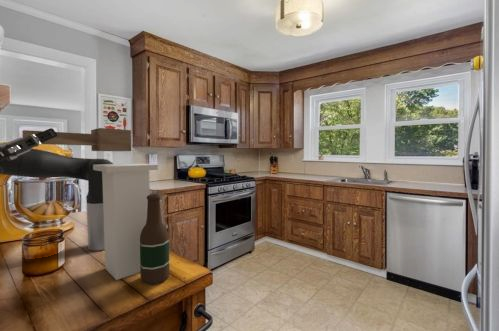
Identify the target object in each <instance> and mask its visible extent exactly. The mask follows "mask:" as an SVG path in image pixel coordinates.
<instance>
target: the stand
mask: <svg viewBox="0 0 499 331" xmlns="http://www.w3.org/2000/svg"><path fill="white" fill-rule="evenodd" d="M158 167H159V165H158V164H154V163H153V164H152V163H151V164H150V163H141V162H139V163H113V164H104V165H93V170H97V171H102V181H103V213H104V244H105V250H104V266H105V268H104V269H105V270H106V271H107V272H108V273H109V274H110V275H111V276H112V277H113V278H114V279H115V280H116V281H117V280H120V279H124V278H126V277H131V276H133V275H136V274H138V273H140V234H141V231H142V229H143V227H144V226H145V224H146V220H147V205H148V200H147V199H146V198H147V195H150V194H151V192H150V171H156V170H157V171H158V170H159V168H158Z"/></svg>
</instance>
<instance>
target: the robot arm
mask: <svg viewBox="0 0 499 331" xmlns="http://www.w3.org/2000/svg"><path fill="white" fill-rule="evenodd" d="M42 131H43V132H40V133H38V134H34V135H33V134H32V135H30V136H28V137H27V138H23V137H18V138H16V139H12V140H11V141H8V142H7V141H6V142H2V143H0V175H4V176H5V175H6V176H13V177H16V176H17V177H24V178H37V179H38V178H39V179H40V178H43V179H45V178H51V179H52V178H72V179H76V180H83V181H88V182H87V184H88V185H87V186H88V187H87V188H88V191H87V195H86V197H85V198H86V218H87V219H86V222H87V224H86V226H87V250H88V251H93V252H95V251H105V244H104V213H103V181H102V171H97V170H93V165H104V164H114V163H113V162H112V161H110V160H109V159H106V158H105V159H104V158H86V157H85V158H83V157H73V156H66V155H63V154H59V153H55V152H53V151H47V150H43V149H37V148H35V147H39V146H40V145H42V144H41V143H42V142H45V141H47V140H49V139H52V138H54V137H56V136H57V134H56V132H57V131H55V129H53V128H52V127H51V128H47V129H45V130H42ZM25 140H29V141H30V143H31V144H27V143H26V142H25Z"/></svg>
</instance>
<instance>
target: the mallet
mask: <svg viewBox="0 0 499 331" xmlns="http://www.w3.org/2000/svg"><path fill="white" fill-rule="evenodd" d="M43 131H44V130H29V129H28V130H27V129H23V130H22V138H27V137H28V136H30V135H32V134H33V135H34V134H38V133H40V132H43ZM55 132H56V134H57V136H56V137H54V138H52V139H49V140H47V141H45V142H42V143H41V144H40V145H56V146H57V145H58V146H59V145H61V146H63V145H64V146H91V148H90V149H91V152H132V131H131V129H120V128H119V129H118V128H105V127H104V128H103V127H98V128H94V129H91V130H90V133H83V132H82V133H80V132H64V131H61V132H60V131H55ZM25 142H26V143H27V144H31V143H30V141H29V140H25Z"/></svg>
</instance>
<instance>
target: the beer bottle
mask: <svg viewBox="0 0 499 331" xmlns="http://www.w3.org/2000/svg"><path fill="white" fill-rule="evenodd" d="M161 198H162V197H161V195H160V194H159V193H150V195H147V198H146V199H147V200H148V205H147V220H146V224H145V226H144V227H143V229H142V231H141V234H140V272H139V273H140V279H141V282H142V284H143V285H147V286H149V285H150V286H155V285H158V284H162V283H164V282H166V280H168V279H169V277H170V237H169V231H168V230H167V227H166V226H165V225H164V223H163V219H162V213H161V202H160V200H161Z"/></svg>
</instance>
